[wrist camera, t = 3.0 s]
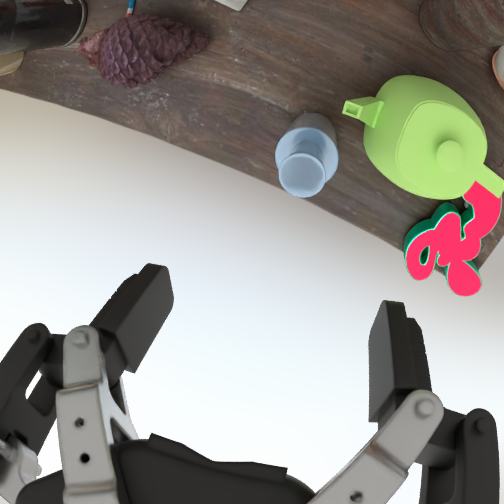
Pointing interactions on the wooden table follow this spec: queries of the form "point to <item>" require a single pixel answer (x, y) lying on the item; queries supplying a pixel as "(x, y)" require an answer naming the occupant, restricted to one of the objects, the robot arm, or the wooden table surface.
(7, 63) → the tube
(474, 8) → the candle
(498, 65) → the toy ball
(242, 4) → the container
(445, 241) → the squiggly shape
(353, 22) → the wooden table surface
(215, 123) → the wooden table surface
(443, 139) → the teapot
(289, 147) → the bottle
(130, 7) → the pencil
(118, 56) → the pine cone
